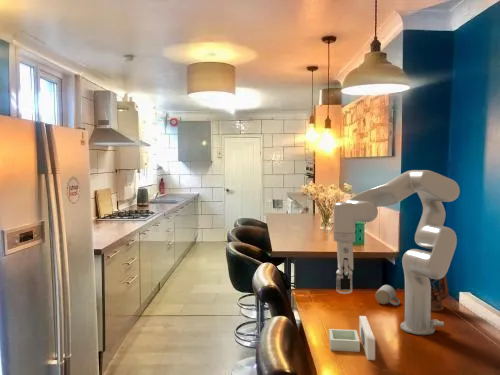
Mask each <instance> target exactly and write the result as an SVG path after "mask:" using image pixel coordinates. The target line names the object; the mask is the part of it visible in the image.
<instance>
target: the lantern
mask: <svg viewBox="0 0 500 375" xmlns="http://www.w3.org/2000/svg"><path fill="white" fill-rule="evenodd" d="M432 250H433V249H429V250H426V248H424V247H423V251H428V252H431V253H432ZM429 280H430V284H432V286H433V287H432V286H431V312H437V311H439V312H440V311H443V310H444V306H443V300H445V299H446V298H448V297H449V294H450V293H449V286H448V279H447V274H446V275H445V276H444V277H443V278H441V279H434V281H432V282H431V280H432V278H429ZM437 281H438V285H437V287H436V286H435V284H434V283H435V282H437ZM437 293H438V294H437ZM436 294H437V295H436Z"/></svg>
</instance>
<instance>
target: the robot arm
mask: <svg viewBox="0 0 500 375" xmlns="http://www.w3.org/2000/svg"><path fill="white" fill-rule="evenodd" d="M460 192H461V191H460V186H459V184H458V183H457V181H455V179H452V178H449V177H447V176H445V175H443V174H440V173H438V172H435V171H433V170H428V169H411V170H407V171H404V172H403V173H401V174H400V175H398V176H396V177H394V178H393V179H391V180H389V181H388V182H386V183H384V184H381V185H378V186H376V187H374V188H370V189H368V190H365V191H362V192H360V193H357V194H355V195H354V196H352V197H351V198H349V199H347V200H346V201H341V202H340V201H338V202H336V203H334V204H333V242H336V255H337V257H336V258H337V266H338V265H339V269H340V270H341V289H345V290H349V289H350V275H349V267H350V270H351V271H353V270H354V246H353V244H354V243H355V242H356V223H357V222H359V223H371V222H372V221H374V220H376V218H378V215H379V210H378V208H381V207H389V206H393V205H397V204H398V203H400V202H402V201H403V200H404V199H406V198H408V197H409V196H411V195H414V194H415V193H417V195H418V197H419V199H420V201H421V204H422V214H421V217H420V220H419V223H418V225H417V227H416V231H415V233H414V242H415V244H416V245H418V246H419V247H422V248H423V250H422V249H418V248H411V249H409V250H407V251H405V252H404V254H403V256H402V258H401V261H402V262H401V263H402V269H403V274H404V321H402V322H401V323H400V329H401V330H402V331H404V332H405V333H408V334H412V335H416V336H427V335H429V336H430V335H432V334H435V331H436V327H439V328H440V327H445V322H444V321H440V320H439V319H433V318H432V317H431V316H432V315H431V314H432V311H431V287H432V285H431V284H430V283H431V282H430V281H431V280H432V279H433V280H436V279H438V280H440V279H441V278H443V277H444V276H445V275H446V276H447V273H448V271H449V268H450V265H451V262H452V260H453V257H454V254H455V251H456V249H457V242H458V239H457V238H458V237H457V235H456V234H457V233H456V232H455V231H454V229H452V228H451V227H448V226H444V224H445V220H446V217H447V216H446V210H445V207H444V204H443V202H444V203H446V202H447V203H449V202H453V201H455V200H456V199H458V198H459V196H460ZM424 248H425V249H429V250H431V249H432V253H431V252H428V251H425V250H424ZM342 266H343V267H342ZM342 268H344V269H342ZM343 271H344V272H343ZM430 278H432V279H430ZM429 279H430V280H429Z"/></svg>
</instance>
